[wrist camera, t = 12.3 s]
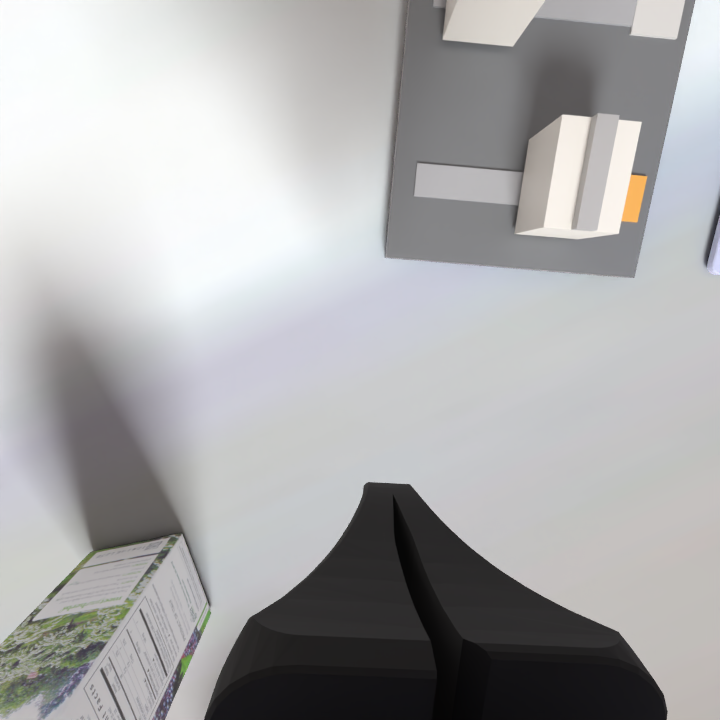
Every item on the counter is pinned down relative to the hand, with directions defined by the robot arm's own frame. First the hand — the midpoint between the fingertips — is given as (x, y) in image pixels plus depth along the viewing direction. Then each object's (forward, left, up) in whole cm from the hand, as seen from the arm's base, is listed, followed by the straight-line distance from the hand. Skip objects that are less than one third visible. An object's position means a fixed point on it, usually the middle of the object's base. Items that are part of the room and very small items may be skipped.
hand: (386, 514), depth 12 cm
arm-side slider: (-7, -11, -9) cm, 16 cm away
